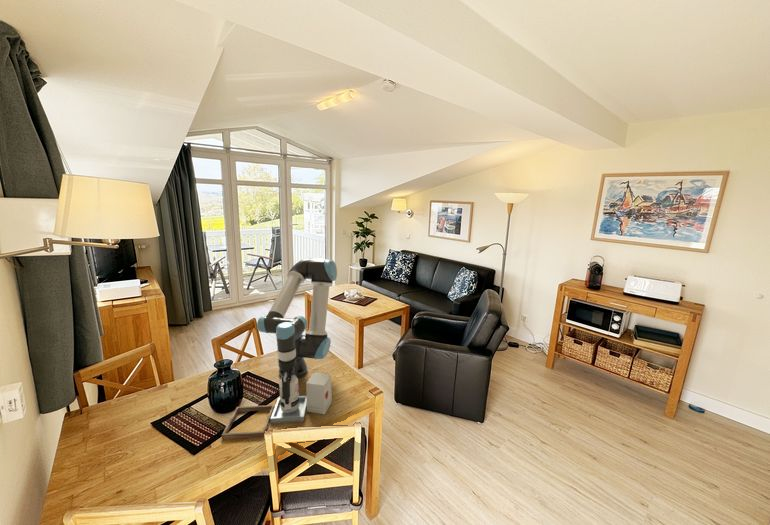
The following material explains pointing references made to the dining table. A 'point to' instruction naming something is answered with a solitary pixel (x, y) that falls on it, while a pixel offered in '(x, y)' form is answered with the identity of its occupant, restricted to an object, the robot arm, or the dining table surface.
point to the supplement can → (294, 395)
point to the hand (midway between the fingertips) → (290, 402)
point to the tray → (295, 416)
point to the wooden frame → (247, 434)
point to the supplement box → (318, 393)
